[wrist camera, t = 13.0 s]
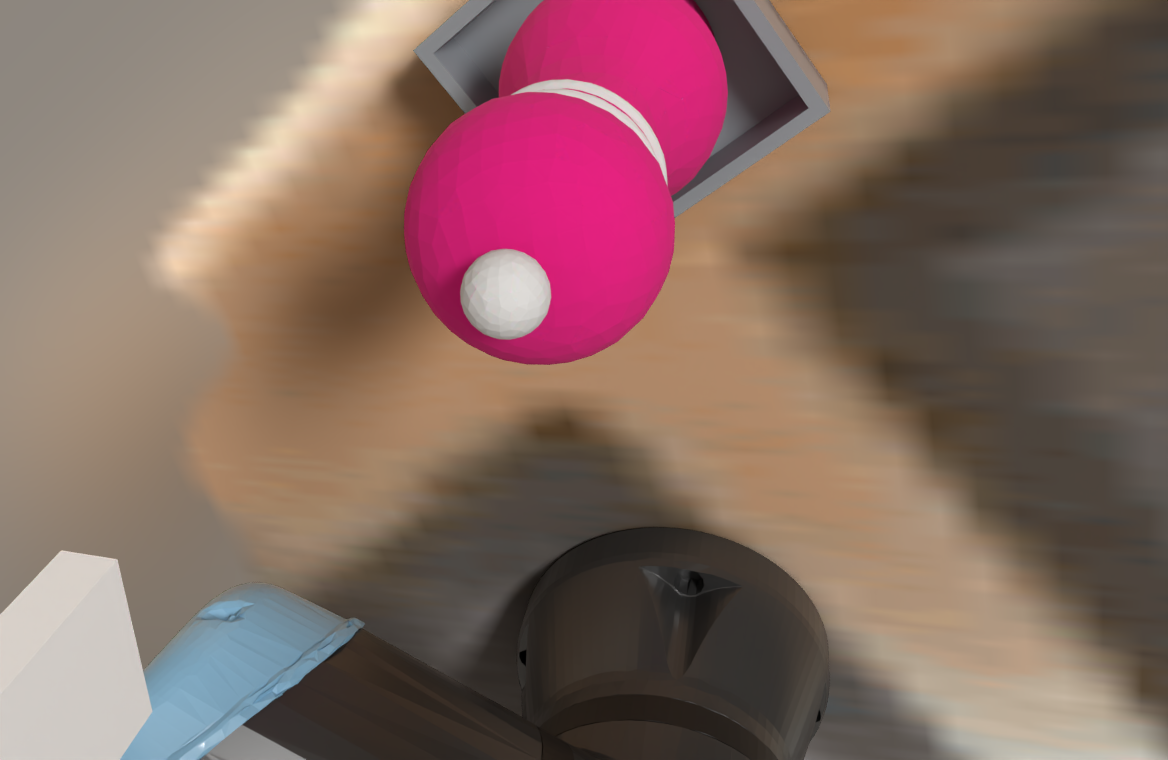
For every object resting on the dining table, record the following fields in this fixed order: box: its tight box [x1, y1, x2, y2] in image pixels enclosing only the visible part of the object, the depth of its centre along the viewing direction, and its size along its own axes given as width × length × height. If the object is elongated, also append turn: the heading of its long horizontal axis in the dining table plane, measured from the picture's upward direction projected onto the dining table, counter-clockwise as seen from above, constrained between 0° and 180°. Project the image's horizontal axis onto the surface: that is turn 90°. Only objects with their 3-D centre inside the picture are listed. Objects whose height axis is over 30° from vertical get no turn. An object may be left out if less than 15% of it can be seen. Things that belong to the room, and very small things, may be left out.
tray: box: [413, 0, 830, 218], centre depth 36 cm, size 10×10×4 cm
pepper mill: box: [404, 0, 728, 365], centre depth 28 cm, size 7×7×20 cm
